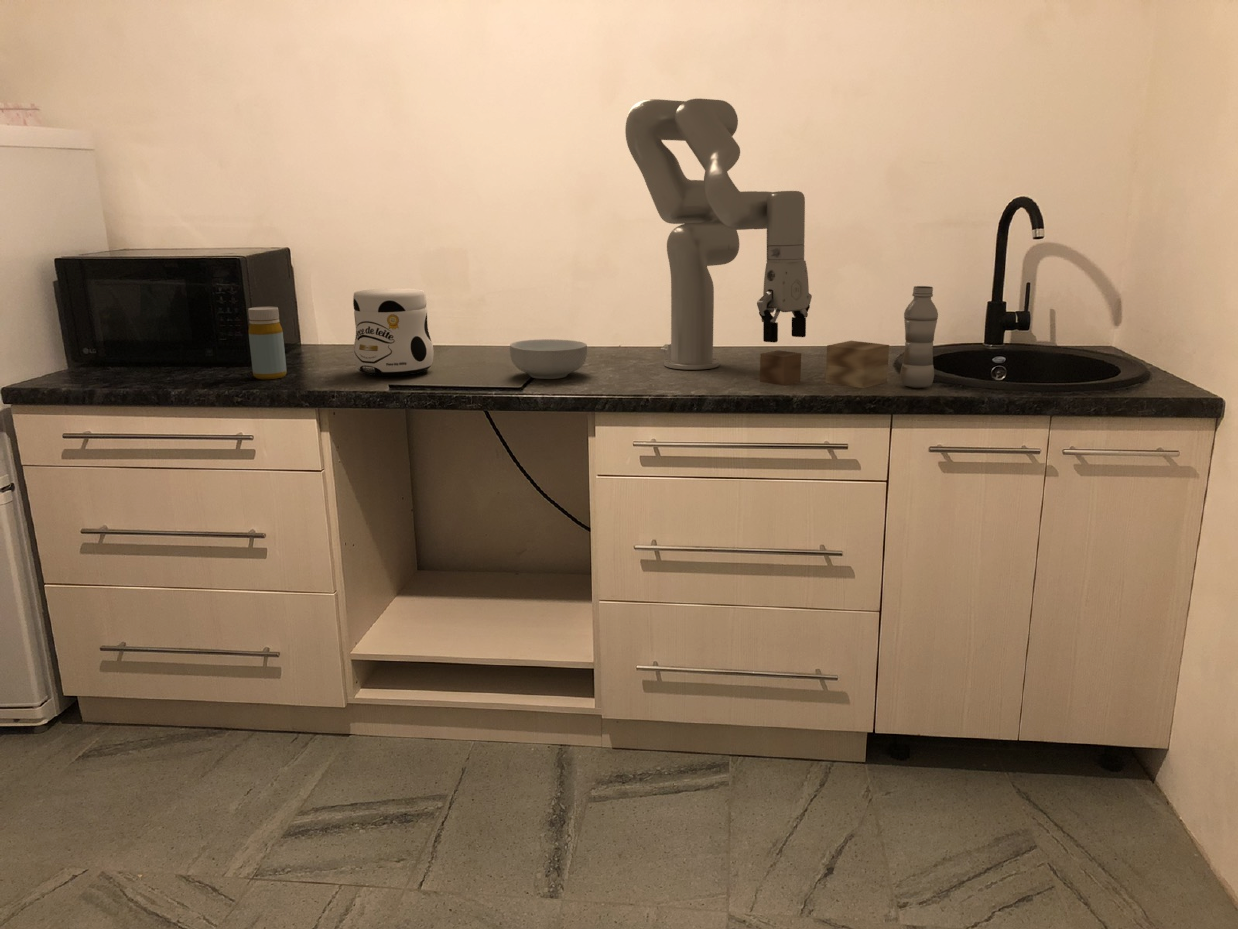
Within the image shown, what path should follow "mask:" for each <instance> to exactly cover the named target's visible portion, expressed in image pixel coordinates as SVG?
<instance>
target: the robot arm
mask: <svg viewBox="0 0 1238 929" xmlns="http://www.w3.org/2000/svg"><path fill="white" fill-rule="evenodd" d="M738 126H739V118H738V114H737V112H736V109H735V108H734V107H733V106H732V104H731V103H729V102H727V101H725V100H722V99H710V98H692V99H688V100H670V99H660V98H659V99H657V98H656V99H655V98H654V99H653V98H652V99H645V100H641V101H639V102H637V103H635V104H634V105H633V106H632V107H631V108H630V110H629V111H628V114H627V116H626V122H625V127H624V128H625V132H624V133H625V141H626V144H627V148H628V150H629V152H630V155H631V157H632V158H633V160H634V162H635V164H636V165H637V167H638V169H639V171H640V173H641V175H642V177H643V179H644V182H645V185H646V186H647V189H648V191H649V194H650V197H651V199H652V201H653V204H654V206H655V209H656V211H657V213H658V214H659V217H660V218H661V219H662V220H663V221H664V222H665V223H667V224H669V225H670V224H672V225H678V226H676V227H675V228H673V229H672V230H671V231H670V233H669V235H668V237H667V241H666V252H667V258H668V262H669V269H670V270H669V271H670V289H671V290H670V298H671V300H670V303H671V304H670V305H671V306H670V309H671V310H670V313H671V314H670V317H671V318H670V327H671V328H670V343H669V344H667V343H665V344H664V345H663V346H662V347H660V349H659V350H660V351H659V352H660V353H661V354H666V355H667V358H666V359H664V361H663V362H664V364H663V365H664V366H665V367H666V368H669V369H675V370H687V371H688V370H690V371H691V370H692V371H695V370H697V371H699V370H709V369H715V368H718V367H719V366H720V362H721V361H720V360H719V358H715V357H714V314H715V313H714V312H715V311H714V310H715V307H714V306H715V305H714V304H715V301H714V299H715V298H714V297H715V295H714V294H715V291H714V289H715V288H714V282H713V279H712V275H711V273H710V270H709V268H708V267H712V266H722V265H726V264H729V263H732V261H734V260H735V258H737V256H738V254H739V252H740V251H739V250H740V237H739V233H738V231H741V230H742V231H744V230H745V231H746V230H766V263H765V268H764V269H765V270H764V278H763V289H762V290H763V292H762V293H763V296H761V297H760V298H759V299H758V300H757V302H756V306H757V309H758V311H759V312H758V314H759V317H761V319H760V320H761V322H762V323H763V326H762V327H763V328H762V330H763V331H762V332H763V334H762V335H763V336H762V337H763V338H762V339H763V342H764V343H773V344H774V343H778V341H779V322H776V321H777V320H778V317H779V316H780V313H791V314H792V315H793V317H791V336H792V337H793V338H794V337H795V338H806V336H807V335H806V334H807V332H806V331H807V330H806V329H807V318H808V312H809V310H810V307H811V301H812V299H813V298H812V296H813V295H812V294H811V293H810V290H809V288H810V287H809V275H808V274H809V273H808V266H807V262H806V261H807V260H805V232H806V230H805V228H806V227H805V226H806V224H805V223H806V221H805V220H806V219H805V218H806V199H805V194H804V193H803V192H802V191H799V190H782V191H781V190H778V191H756V190H754V191H752V190H749V191H748V190H747V191H740V190H739V189H738V187H737V186H736V184H735V183H734V182H733V180H732V178H731V177H730V175H729V173H728V172H729V171H730V170H731V169H732V168H733V167H734V166H735V165H736V164H737V162H738V161H739V159H740V156H741V147H740V145H739V144H738V142H736V139H735V138H734V137H733V136H734V135H735V134H736V132H737V129H738ZM663 141H680V142H682V141H685V143H686V144H687V145H688V147H689V149H690V150H691V152H692V153H693V154H694V156H695V157H696V159H697V161H698V162H699V163H700V164H699V165H701V166H702V168H703V170H704V176H703V179H702V180H701V179H689V178H687V176H686V175H685V173H684V172H683V170H682V167H681V165H680V163H679V162H680V161H679V160H678V158H677V157H676V155H675V154H674V153H673V152H672V151H671V149H669V148H668V147H667V146H666V144H664V142H663Z"/></svg>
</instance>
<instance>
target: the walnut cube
mask: <svg viewBox="0 0 1238 929" xmlns="http://www.w3.org/2000/svg"><path fill="white" fill-rule="evenodd" d="M759 358H760V360H759V361H760V362H759V363H760V364H759V383H765V384H771V385H778V386H787V385H790V384H791V385H792V384H795V383H800V382H801V374H802V373H801V372H802V352H794V351H786V350H778V349H777V350H772V351H767V352H762V353H760V355H759Z"/></svg>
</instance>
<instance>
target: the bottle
mask: <svg viewBox="0 0 1238 929" xmlns="http://www.w3.org/2000/svg"><path fill="white" fill-rule="evenodd" d="M247 309H248V310H247V312H248V319H249V321H248V322H249V326H248V341H249V349H250V350H249V351H250V357H251V358H250V359H251V367H252V368H251V369H252V375H253V377H254V378H255V379H256V380H257V379H258V380H274V379H276V380H277V379H282V378H284V377H285V376H286V375H287V363H286V362H287V360H286V353H285V351H286V350H285V343H284V342H285V341H284V332H283V328H282V326H281V323H280V314H279V308H278V306H256V307H250V308H247Z"/></svg>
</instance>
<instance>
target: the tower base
mask: <svg viewBox="0 0 1238 929" xmlns="http://www.w3.org/2000/svg"><path fill="white" fill-rule="evenodd" d="M825 365H826V364H825ZM888 368H889V363H888V364H887V365H883V366H878V367H874V368H870V369H866V370H861V369H854V368H847V367H839V366H832V365H826V366H825V379H824V380H825V381H824V382H825V383H828V384H832V385H838V386H839V385H840V386H846V387H853V388H860V389H866V388H869V387H874V386H877V385H880V384H884V383H887V382H888V370H889V369H888Z"/></svg>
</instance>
